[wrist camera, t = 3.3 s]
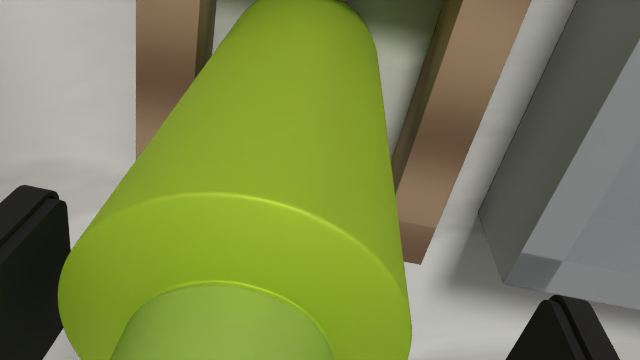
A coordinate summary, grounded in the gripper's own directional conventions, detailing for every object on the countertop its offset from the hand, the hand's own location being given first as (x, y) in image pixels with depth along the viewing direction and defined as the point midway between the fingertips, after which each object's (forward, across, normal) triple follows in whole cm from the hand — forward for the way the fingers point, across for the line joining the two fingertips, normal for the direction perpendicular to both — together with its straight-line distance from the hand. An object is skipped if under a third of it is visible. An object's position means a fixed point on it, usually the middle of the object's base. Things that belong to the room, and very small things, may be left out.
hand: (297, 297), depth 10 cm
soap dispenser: (+12, +1, -1) cm, 12 cm away
